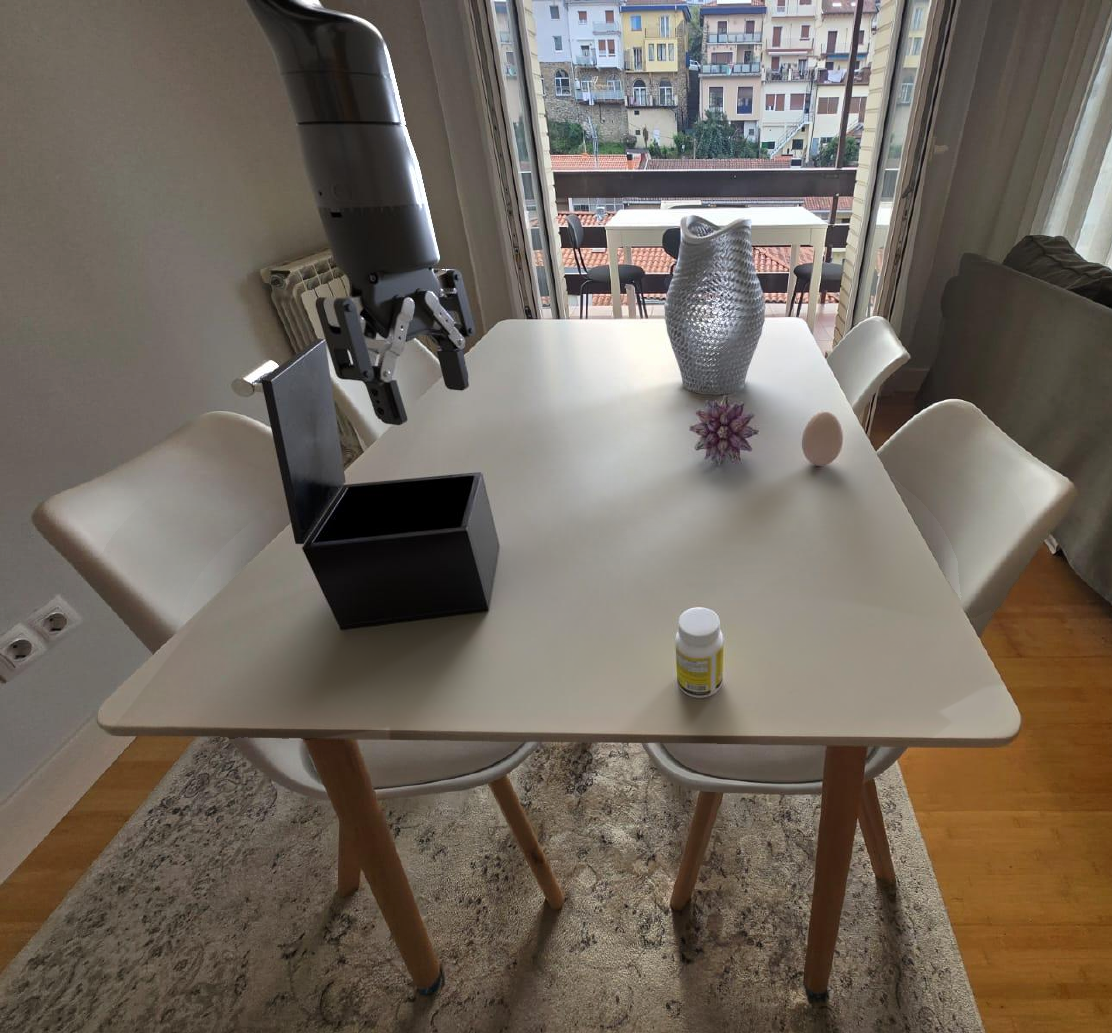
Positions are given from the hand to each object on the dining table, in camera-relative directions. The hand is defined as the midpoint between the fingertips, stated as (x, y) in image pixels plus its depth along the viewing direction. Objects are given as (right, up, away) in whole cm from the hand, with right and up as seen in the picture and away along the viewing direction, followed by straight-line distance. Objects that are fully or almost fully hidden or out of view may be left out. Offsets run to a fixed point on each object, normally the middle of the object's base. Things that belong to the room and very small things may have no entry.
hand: (428, 404), depth 51 cm
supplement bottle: (+25, -27, +8) cm, 38 cm away
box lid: (-16, -2, +9) cm, 19 cm away
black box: (-10, -19, +21) cm, 30 cm away
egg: (+46, -1, +47) cm, 66 cm away
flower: (+30, 0, +49) cm, 58 cm away
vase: (+29, +21, +83) cm, 90 cm away
